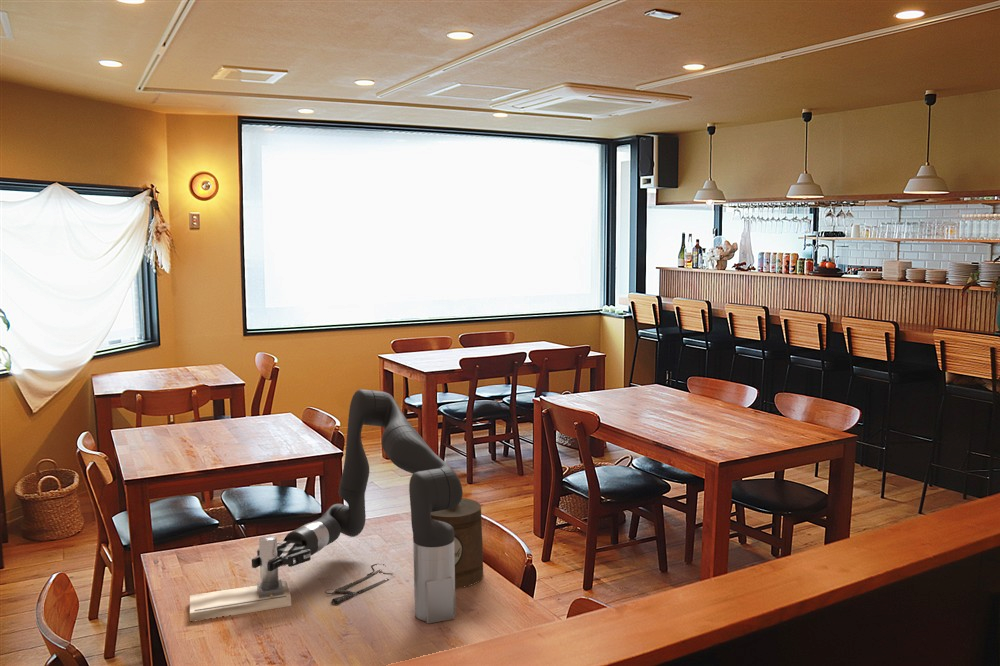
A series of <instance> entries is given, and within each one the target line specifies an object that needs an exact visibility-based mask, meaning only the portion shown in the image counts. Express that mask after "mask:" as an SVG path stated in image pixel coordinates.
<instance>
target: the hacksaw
mask: <svg viewBox="0 0 1000 666" xmlns="http://www.w3.org/2000/svg"><path fill="white" fill-rule="evenodd" d="M377 564H378V563H374V564H372V565H371V566H370V568H371V570H372V572H370V573H367V574H366V576H364V577H361V578H360V579H357V580H354V581H353V582H350V583H348V584H345V585H342V586H340V587H338V588H336V589H335V588H334V589H335V590H333V591H332V592H327V591H330V590H332V588H330V589H326V590H325V591H324V593H325V594H327V595H333V594H345V595H341V596H338V597H337V596H336V597H333V598H332V599H331V601H330V604H333V603H334V605H339V604H341V603H343V602H345V601H347V600H349V599H351V598H353V597H356V596H358V595H357V594H361V593H363V592H366V591H367V590H371V589H372V588H374V587H376V586H379V585H382V584H383V583H385V582H388V581H390V580H389V579H388V578H386V579H387V580H385V579H382V580H381V581H378V582H376V583H373V584H371V585H368V586H365V587H364V588H362V589H360V590H357V591H352V590H349V588H352V587H353V586H356V585H358V584H359V583H360V584H361V583H362V582H364V581H366V580H368V579H370V578H372V577H374V576H375V575H377V574H381V573H383V574H382V575H389V574H393V573H392V572H391V573H390V572H383V571H382V570H381V569H377V570H376V571H375V568H374V566H377ZM382 564H383V563H382ZM384 565H385V564H383V565H382V566H384ZM380 570H381V571H380ZM378 572H379V573H378ZM347 589H348V590H347ZM355 595H356V596H355ZM344 600H345V601H344Z"/></svg>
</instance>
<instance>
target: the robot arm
mask: <svg viewBox="0 0 1000 666" xmlns="http://www.w3.org/2000/svg"><path fill="white" fill-rule="evenodd" d="M348 410H349V411H348V420H347V430H346V431H347V432H346V442H345V443H346V446H345V456H344V463H343V468H342V473H341V479H340V482H339V487H338V492H337V493H338V495H339V497H340V498H341V499H342V500H344V501H345V502H346V503H347V505H345V504H343V503H334V504H332V505H331V506H329V507H328V509H327V510H326V512H324V513H323V515H321V517H320V518H317V519H316V520H313V521H312V522H308V523H305V524H304V525H301V526H300V527H297V528H296V529H294V530H292V531H290V532H288V533H287V534H286V535H285V536H284V539H283V540H282V541H280V542H277V556H278V557H276V558H274V559H272V560H271V561H269V562H268V563H267V569H268V571H273V570H274V569H276V568H278V569H279V568H280V567H285V566H287V567H288V568H290V567H291V568H292V567H294V566H297V565H298V566H299V565H301V564H303V563H307V562H308V561H311V556H314V554H316V553H319V552H320V551H321V550H323V549H324V548H325V547H326V546H328V545H330V544H332V543H334V542H335V541H336V540H337V539H339V537H340V536H341V534H343V535H345V536H347V537H350V538H355V537H358V536H359V535H360V534H361V533H362V532H363V530H364V527H365V524H366V490H367V486H368V481H369V478H370V477H369V476H370V464H369V460H368V458H367V455H366V451H365V448H364V446H363V442H362V441H363V440H362V431H363V426H374V427H381V428H383V429H384V431H383V433H382V437H381V447H382V450H383V451H384V453H385V454H386V456H387V457H388V458H389V460H390V461H391V462H392V463H393V465H394V466H396V467H397V468H399V469H401V470H403V471H405V472H407V473H410V474H412V475H411V476H410V478H409V486H408V492H409V494H408V495H409V503H410V520H411V530H412V541H413V542H412V543H413V544H412V547H413V548H412V549H413V550H412V551H413V553H412V554H413V556H412V557H413V587H414V588H413V593H414V598H413V599H414V615H415V617H416V618H417V619H418V620H420V621H424V622H426V624H433V623H438V622H445V621H450V620H454V619H455V615H456V613H457V612H456V588H455V555H454V528H453V527H452V526H451V525H450V524H448V523H446V522H442V521H437V520H433V519H431V512H435V511H440V510H446V509H450V508H453V507H455V506H457V505H458V504H459V503H460V502H461V500H462V498H463V493H464V492H463V486H462V482H461V480H460V478H459V476H458V474H457V472H455V470H454V469H453V468H452V467H451V466H450V465H449V464H448V463H446V462H445V461H444V460H443V459H442V458H441V457H440V456H439V455H437V453H436V452H434V451H433V449H432V448H431V447H430V446H429V445H428V444H427V442H426V441H425V440H424V438H423V437H422V436H421V435H420V434H419V432H418V431H417V430H416V429H415V428H414V426H412V425H411V423H410V421H409V420H408V419H407V417H406V416H405V415H404V413H403V412H402V409H401V408H400V407H399V405H398V402H397V401H396V400H395V398H394V397H393V396H392V394H390V393H388V392H387V391H381V390H374V389H373V390H372V389H371V390H370V389H363V388H362V389H357V390H356V391H354V393H353V395H352V397H351V400H350V405H349V409H348ZM256 554H257V555H256V556H255V557H253V558H252V559H251V568H253V569H257V568H258V567H260V551H259V548H257V550H256Z"/></svg>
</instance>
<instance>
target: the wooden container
mask: <svg viewBox="0 0 1000 666" xmlns="http://www.w3.org/2000/svg"><path fill="white" fill-rule="evenodd" d="M481 506H482V505H481V504H480V503H479V502H478V501H476V500H474V499H471V498H466V497H465V498H464V497H462V500H461V502H460V503H459V504H458V505H457V506H455V507H453V508H450V509H446V510H440V511H435V512H431V519H433V520H437V521H442V522H446V523H448V524H450V525H451V526H452V527H453V528H454V555H455V589H458V588H459V587H462V588H465V587H464V586H467V587H470V586H472V585H471V584H473V585H475V584H477V583H479V582H481V580H482V579H483V578H482V577H483V576H484V547H483V546H484V545H483V544H484V543H483V527H482V526H483V525H482V524H483V523H482V507H481ZM478 581H479V582H478ZM476 582H477V583H476ZM474 583H475V584H474ZM469 585H470V586H469Z"/></svg>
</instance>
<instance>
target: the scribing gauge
mask: <svg viewBox="0 0 1000 666" xmlns="http://www.w3.org/2000/svg"><path fill="white" fill-rule="evenodd" d="M277 539H278V538H277V536H275V535H263V536H261V537H259V539H258V547H259V548H258V549H259V551H260V566H259V567H260V569H259V570H260V571H259V572H260V582H256V585H257V590H258V595H259V598H265V597H271V598H272V597H273V596H278V595H284V593H283V586H282V580H281V579H279V567H278V568H276V569H274V570H273V571H268V569H267V563H268V562H269V561H271V560H272V559H274V558H276V557H278V556H277V543H278V540H277Z"/></svg>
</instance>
